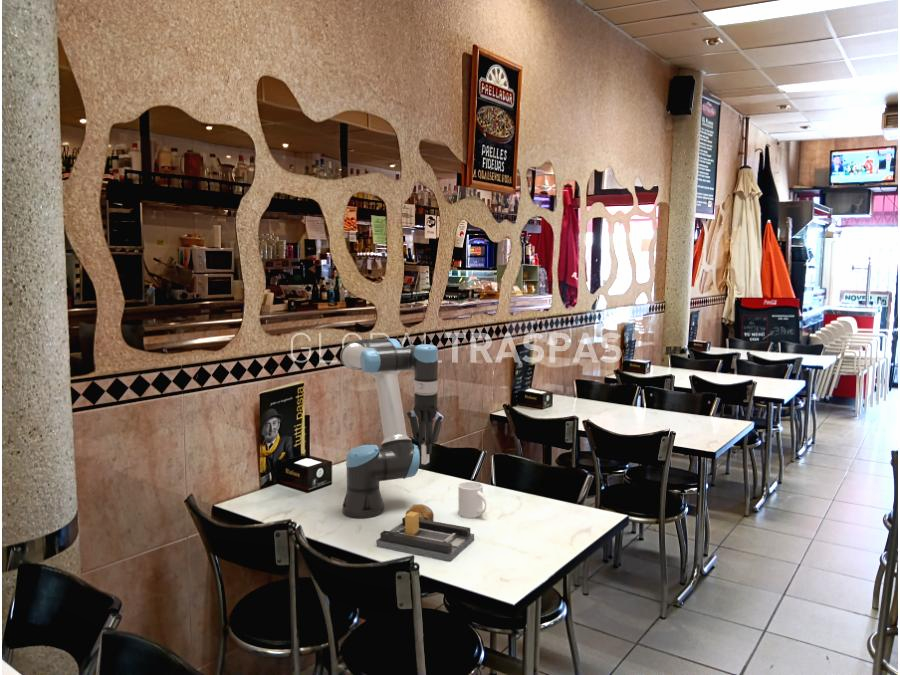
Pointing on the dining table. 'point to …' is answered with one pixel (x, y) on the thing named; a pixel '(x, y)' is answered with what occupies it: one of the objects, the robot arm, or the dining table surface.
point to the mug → (471, 499)
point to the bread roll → (422, 511)
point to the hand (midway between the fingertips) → (425, 462)
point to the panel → (427, 552)
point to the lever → (412, 523)
